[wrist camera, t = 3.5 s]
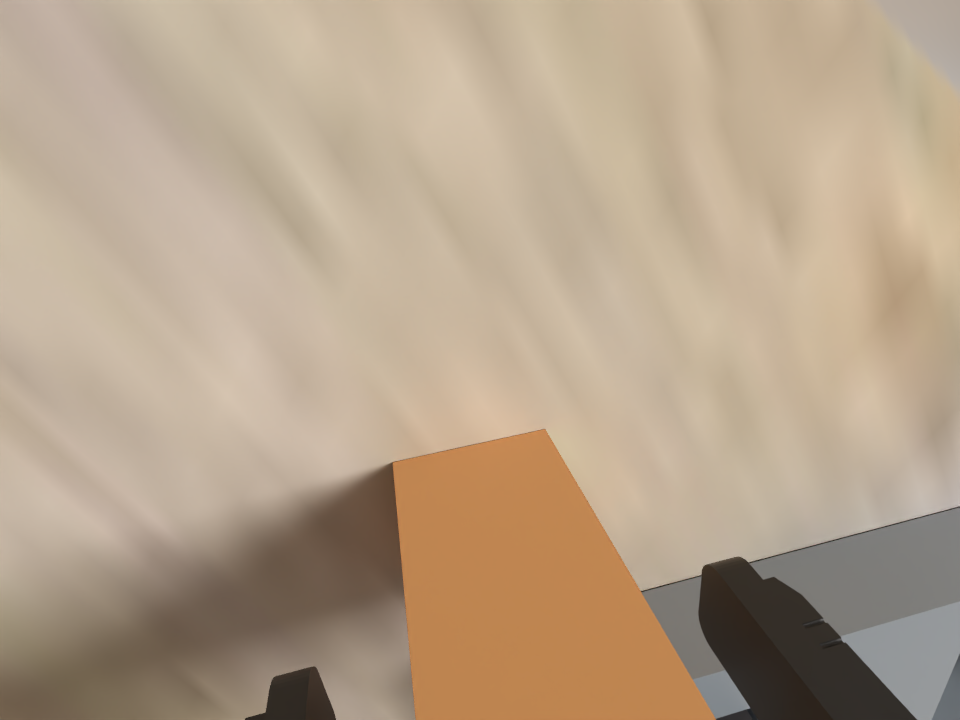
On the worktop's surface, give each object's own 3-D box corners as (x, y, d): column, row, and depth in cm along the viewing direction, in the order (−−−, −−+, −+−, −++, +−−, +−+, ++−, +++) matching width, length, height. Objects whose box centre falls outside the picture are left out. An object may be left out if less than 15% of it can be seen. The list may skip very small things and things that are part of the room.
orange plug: (419, 576, 15) (503, 1243, 6) (392, 462, 13) (455, 1164, 4) (553, 543, 16) (811, 1113, 7) (545, 429, 14) (878, 994, 5)
